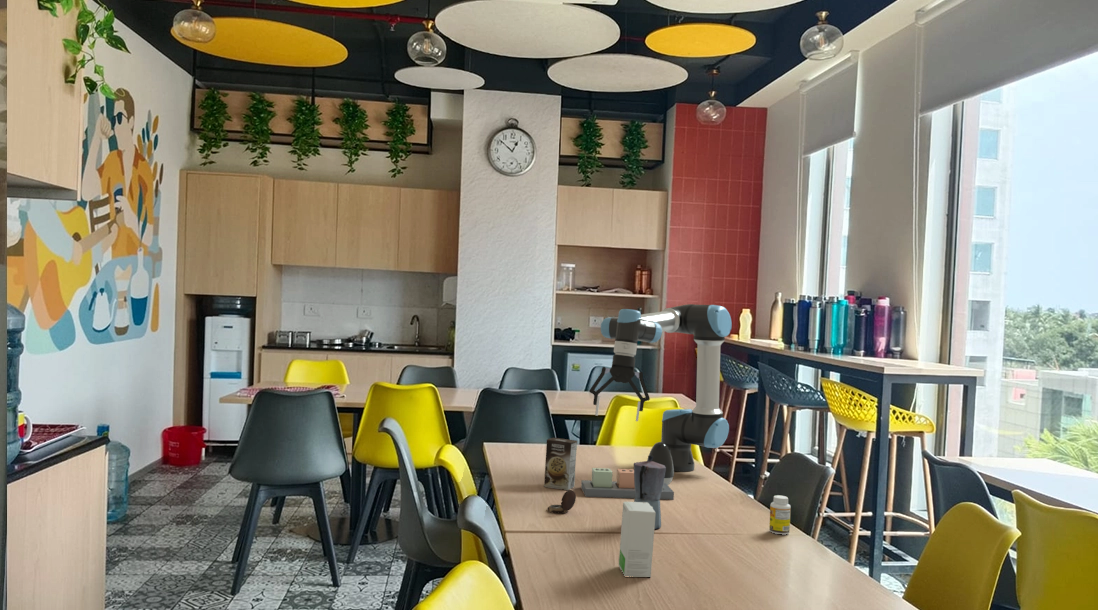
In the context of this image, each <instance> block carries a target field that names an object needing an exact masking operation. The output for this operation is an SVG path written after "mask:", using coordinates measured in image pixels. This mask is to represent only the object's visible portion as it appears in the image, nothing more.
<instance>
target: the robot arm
mask: <svg viewBox="0 0 1098 610" xmlns="http://www.w3.org/2000/svg"><path fill="white" fill-rule="evenodd" d="M732 325H733V324H732V318H731V314H730V313H729V311H728V309H727V308H726V307H725V306H721V305H717V304H695V303H694V304H691V303H690V304H682V305H677V306H672V307H667V308H664V309H662V311H657V312H650V313H643V314H641V311H639V310H636V309H629V308H622V309H620V310H619V311H618V316H617V317H605V318H603V320H602V321H601V322H600V332H601V335H602V337H604V338H605V339H606V338H607V339H610V340H615V341H614V345H613V353H614V354H613V356H612V362H611V367H610V368H608V367H605V366H602V368H601V371H600V374H599V375H598V377H597V378H596V380H595V381H594V383H593V384H592V386H591V387H590V388H589V391H588V392H589V393H590V394H592V395H593V400H592V401H593V406H596V407H595V414H594V415H595V416H597V417H598V416H599V408H600V400H601V396H600V395H599V394H600V393H602V392H603V391H604V390H606V388H607V387H608V386H609V385H611V384H612V383H613V382H615V383H623V384H629V385H630V387H631V388H632V390H633V391H634V394H636V396H637V398H638V399H639V400H638V402H637V407H636V415H635V417H636V418H635V422H639V419H640V417H639V416H640V412H644V403H645V402H647V401H650V400H651V398H650V394H649V391H648V389H647V387H646V384H645V381H644V373H643V372H642V371H635V365H636V364H635V363H636V357H635V356H636V355H637V348H638V342H646V343H657V342H658V341H659V340H660V339H661V337H662V333H663V332H666V333H668V334H672V333H673V334H674V333H679V334H686V335H693V341H694V342H695V344H697V347H696V348H697V352H696V353H697V354H696V357H697V358H696V395H695V396H696V397H695V399H696V400H695V407H694V408H693V409H689V408H688V409H687V408H682V409H680V408H677V409H665V411H663V413H662V420H661V441H660V442H663V443H665V444H666V445H667V446H668V448H669V450H670V453H671V456H672V461H673V467H674V472H693V471H695V461H694V457H693V452H692V445H695V446H701V447H703V448H704V447H705V448H708V449H709V448H711V449H717V448H720V447H721V446H723V445H724V444H725V442H726V440H727V439H728V437H729V436H728V435H729V432H730V425H729V422H728V420H727V419H726V418H724V414H723V413H724V412H723V410H722V409H721V408H720V384H721V383H720V379H721V375H720V374H721V346H722V344H723V343H724V342H725V340H726V339H725V338H726V337H727V336H729V335H730V333H731V331H732ZM608 373H610V375H611V377H610V378H609V379H608V380H607V381H605V383H604V384H602V385H601V386H600V387H599V388H598V387H597V386H598V385H599V384H600V383H601V381H602V379H603V378H604V376H605V375H607V374H608ZM635 376H636V378H637V379H639V383H640V386H641V388H642V392H643V394H644V397H643V395H642V394H641V392H640V391H639V389H638V388H637V386H636V385H635V383H634V381H633V380H632V378H634V377H635ZM596 388H598V389H596Z"/></svg>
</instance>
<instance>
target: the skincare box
mask: <svg viewBox="0 0 1098 610" xmlns="http://www.w3.org/2000/svg"><path fill="white" fill-rule="evenodd" d="M621 513H622V515H621V525H620V526H621V529H620V540H619V541H620V542H619V554H618V555H619V556H618V567H619V570H620V571H621V570H622V571H621V573H622V572H623V573H622V575H623V574H624V575H623V577H624V576H629V577H630V576H631V577H632V576H633V577H651V578H652V568H653V567H652V564H653V562H652V561H653V551H654V539H655V529H654V528H655V515H656V512H655V511H654V510H653V507H652V506H650V504H649V503H648V502H634V501H623V502H622V512H621Z"/></svg>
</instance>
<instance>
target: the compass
mask: <svg viewBox="0 0 1098 610" xmlns="http://www.w3.org/2000/svg"><path fill="white" fill-rule="evenodd" d="M576 498H577V495H576V492H575V491H574V490H572V489H569V490H565V492H564V493H563V494H562V496H561V502H560V504H550V505H549V506H548V507H547V508H546V510H545V511H546V512H547V513H548V512H549V513H551V512H553V513H552V514H566V513H568V512H569V511H571V509H572V508H573V507H574V505H575V503H576V500H577V499H576ZM567 511H568V512H567ZM565 512H566V513H565Z"/></svg>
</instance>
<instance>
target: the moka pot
mask: <svg viewBox="0 0 1098 610" xmlns="http://www.w3.org/2000/svg"><path fill="white" fill-rule="evenodd" d="M647 459H648V461H647V460H645V461H636V462H634V463H633V469H634V485H635V497H636V498H634V500H633V502H648V503H649V504H650V506H652V507H653V510H654V511H655V512H656V515H655V528H654V530H655V529H660V528H661V527H662V515H661V514H662V513H661V499H660V494H661V492H662V488H663V482H664V477H665V472H666V467H665V466H664V465H662V464H659V463H656V462H653V461H652V460H653V456H651V455H649V454H648V455H647Z"/></svg>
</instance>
